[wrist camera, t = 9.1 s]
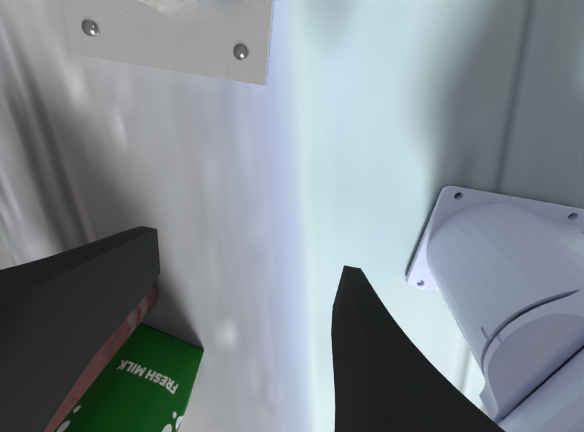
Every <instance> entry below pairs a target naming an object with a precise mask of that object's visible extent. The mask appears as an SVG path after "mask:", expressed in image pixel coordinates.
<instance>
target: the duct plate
mask: <svg viewBox="0 0 584 432" xmlns="http://www.w3.org/2000/svg"><path fill="white" fill-rule="evenodd" d="M62 2H63V8H64V14H65V19H66V25H67V31H68V37H69V42H70V48H71V54H77V55H83V56H89V57H95V58H101V59H107V60H113V61H120V62H126V63H132V64H138V65H144V66H150V67H156V68H162V69H168V70H174V71H180V72H187V73H193V74H199V75H205V76H211V77H217V78H223V79H229V80H235V81H241V82H247V83H254V84H260V85H266V82H267V71H268V61H269V50H270V40H271V29H272V19H273V8H274V0H197V1H196V2H190V3H184V4H179V5H173V6H167V7H162V8H155V7H153V6H150V5H148V4H145V3H143V2H140V1H138V0H62Z"/></svg>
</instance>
